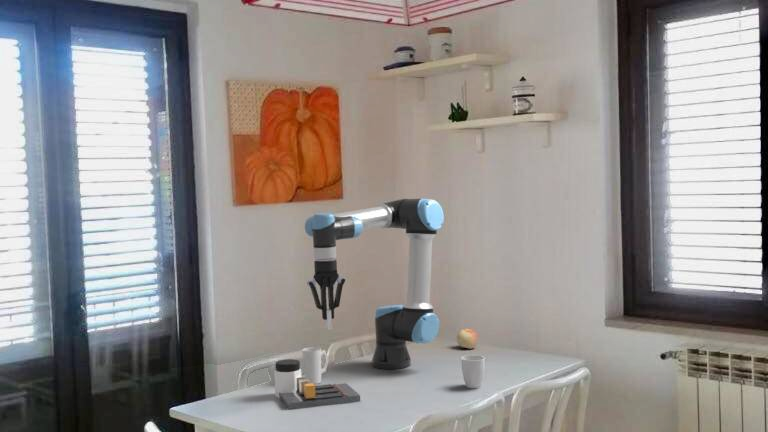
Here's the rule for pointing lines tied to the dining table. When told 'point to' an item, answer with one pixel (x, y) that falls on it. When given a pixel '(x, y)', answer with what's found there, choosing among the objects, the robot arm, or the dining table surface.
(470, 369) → the cup
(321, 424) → the dining table surface
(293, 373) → the jar
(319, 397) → the panel
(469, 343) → the apple
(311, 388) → the handle
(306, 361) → the mug
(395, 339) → the robot arm
